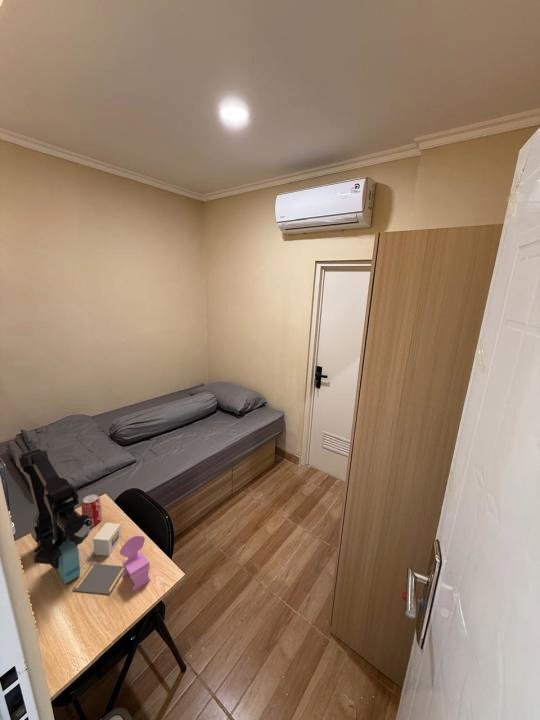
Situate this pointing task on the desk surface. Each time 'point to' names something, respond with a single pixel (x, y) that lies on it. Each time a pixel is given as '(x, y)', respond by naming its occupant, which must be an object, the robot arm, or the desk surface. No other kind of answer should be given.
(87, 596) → the desk surface
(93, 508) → the soda can
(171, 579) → the desk surface
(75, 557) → the data package
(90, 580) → the mat
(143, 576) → the toy chair
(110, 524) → the white box
